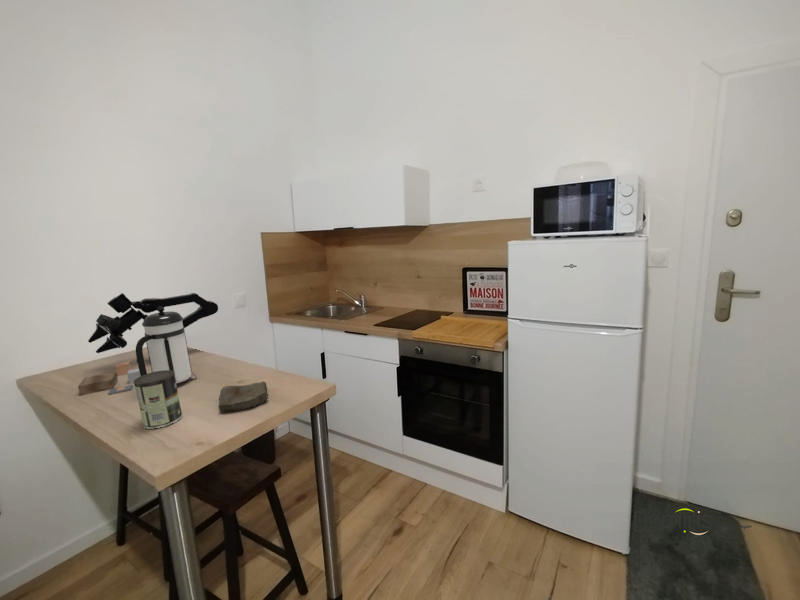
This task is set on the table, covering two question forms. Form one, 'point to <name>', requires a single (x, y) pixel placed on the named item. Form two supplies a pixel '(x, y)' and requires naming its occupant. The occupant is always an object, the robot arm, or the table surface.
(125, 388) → the card
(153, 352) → the coffee press
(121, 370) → the terracotta cube
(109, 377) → the walnut block
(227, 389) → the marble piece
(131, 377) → the grey cube
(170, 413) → the coffee can
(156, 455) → the table surface
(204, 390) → the table surface
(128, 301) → the robot arm
